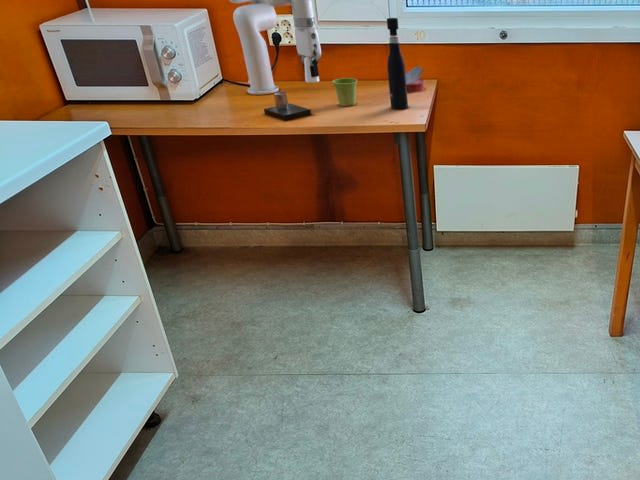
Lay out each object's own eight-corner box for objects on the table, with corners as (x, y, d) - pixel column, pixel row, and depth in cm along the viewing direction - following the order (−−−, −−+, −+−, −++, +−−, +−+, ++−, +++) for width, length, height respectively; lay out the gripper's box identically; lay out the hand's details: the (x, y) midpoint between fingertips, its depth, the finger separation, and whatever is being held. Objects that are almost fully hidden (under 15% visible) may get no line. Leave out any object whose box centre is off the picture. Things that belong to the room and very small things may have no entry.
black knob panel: (264, 114, 236) (263, 108, 235) (290, 108, 242) (289, 102, 241) (285, 121, 228) (284, 115, 227) (311, 115, 234) (310, 108, 233)
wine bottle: (410, 106, 242) (404, 17, 225) (403, 110, 237) (396, 20, 220) (395, 105, 244) (387, 17, 227) (388, 109, 239) (379, 19, 222)
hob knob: (280, 109, 233) (277, 94, 230) (274, 107, 236) (271, 92, 232) (290, 107, 235) (288, 92, 232) (284, 105, 238) (281, 90, 235)
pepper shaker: (312, 83, 245) (308, 52, 239) (302, 81, 248) (297, 50, 241) (322, 80, 249) (318, 50, 242) (312, 78, 251) (308, 48, 245)
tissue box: (423, 102, 265) (423, 82, 256) (399, 99, 265) (398, 79, 256) (425, 83, 270) (425, 63, 261) (402, 81, 270) (401, 60, 261)
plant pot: (362, 101, 249) (360, 78, 244) (356, 107, 242) (353, 83, 237) (339, 101, 250) (336, 77, 245) (332, 107, 242) (329, 83, 237)
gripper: (326, 24, 234) (332, 77, 245) (300, 18, 243) (307, 70, 254) (308, 26, 229) (316, 80, 240) (283, 21, 239) (291, 73, 249)
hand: (311, 74), depth 247 cm, fingers closed on pepper shaker, 3 cm apart
